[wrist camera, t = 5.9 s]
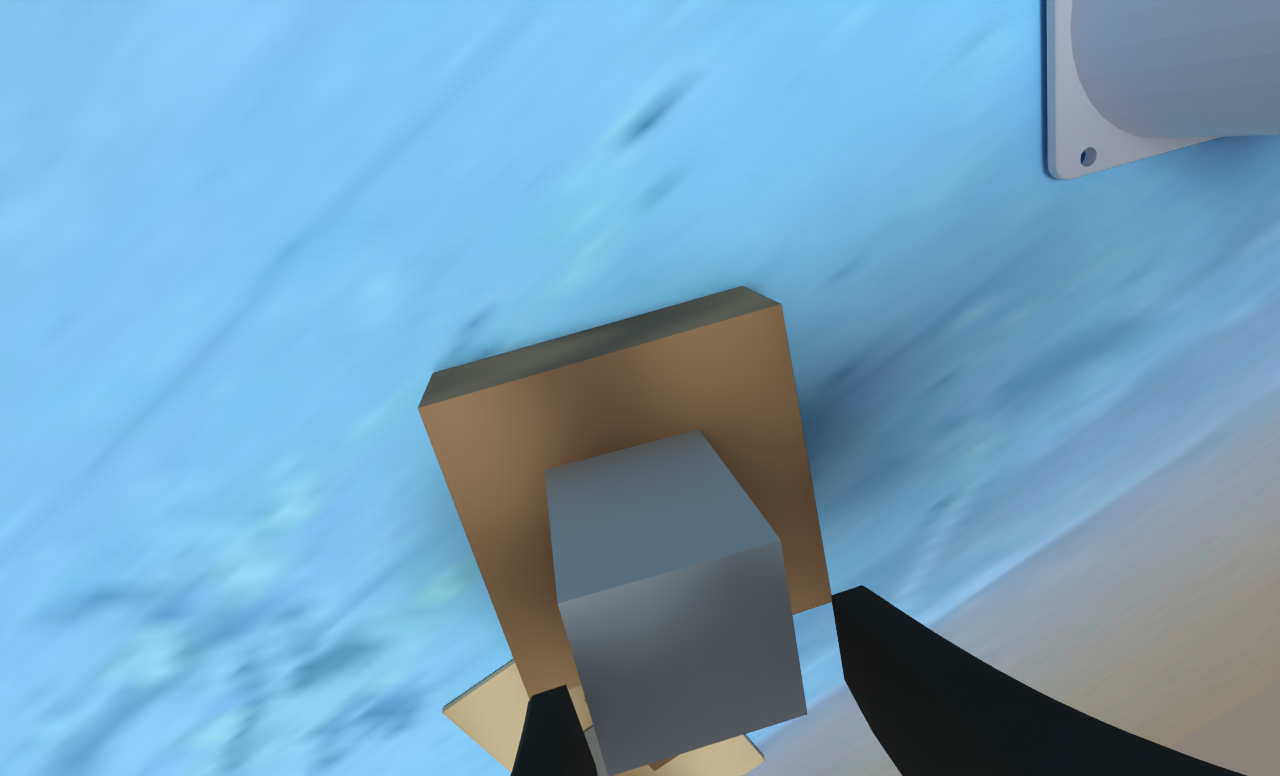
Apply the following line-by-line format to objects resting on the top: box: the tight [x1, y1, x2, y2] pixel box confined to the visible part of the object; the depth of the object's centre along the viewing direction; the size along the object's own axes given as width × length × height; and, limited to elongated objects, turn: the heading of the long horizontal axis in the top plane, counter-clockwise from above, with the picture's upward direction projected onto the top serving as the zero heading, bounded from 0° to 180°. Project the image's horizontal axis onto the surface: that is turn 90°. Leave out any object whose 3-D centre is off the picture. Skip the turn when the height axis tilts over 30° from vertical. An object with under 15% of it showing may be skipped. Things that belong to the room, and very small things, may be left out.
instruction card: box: [442, 659, 765, 776], centre depth 23 cm, size 7×10×1 cm
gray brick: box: [544, 429, 807, 776], centre depth 15 cm, size 4×4×6 cm
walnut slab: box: [418, 286, 832, 700], centre depth 19 cm, size 9×9×3 cm
